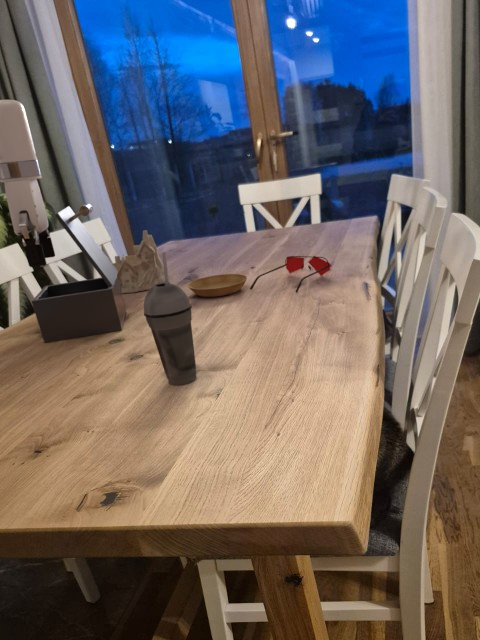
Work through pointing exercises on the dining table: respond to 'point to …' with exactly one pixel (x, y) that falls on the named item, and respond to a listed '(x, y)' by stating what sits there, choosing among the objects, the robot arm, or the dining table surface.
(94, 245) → the grey box lid
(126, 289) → the ceramic cottage
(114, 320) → the dark grey open box
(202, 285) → the plant saucer
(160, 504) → the dining table surface
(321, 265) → the glasses
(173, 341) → the beverage cup
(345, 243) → the dining table surface
